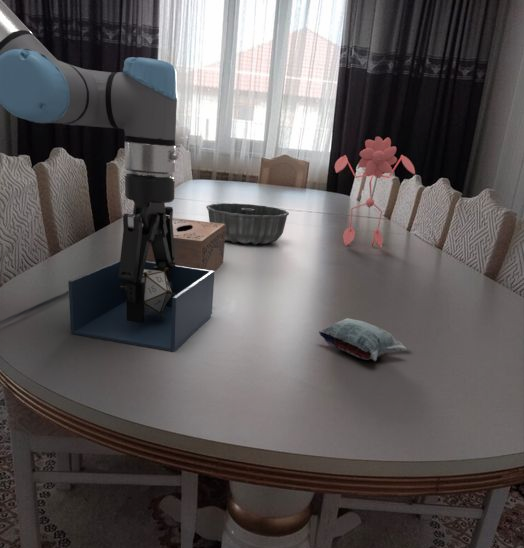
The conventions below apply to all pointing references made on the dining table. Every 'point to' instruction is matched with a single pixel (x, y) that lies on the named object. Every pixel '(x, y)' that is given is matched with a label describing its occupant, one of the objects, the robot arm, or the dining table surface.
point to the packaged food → (361, 339)
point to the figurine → (376, 162)
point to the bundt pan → (249, 222)
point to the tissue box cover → (196, 244)
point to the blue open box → (154, 330)
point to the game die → (155, 290)
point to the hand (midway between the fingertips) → (148, 311)
